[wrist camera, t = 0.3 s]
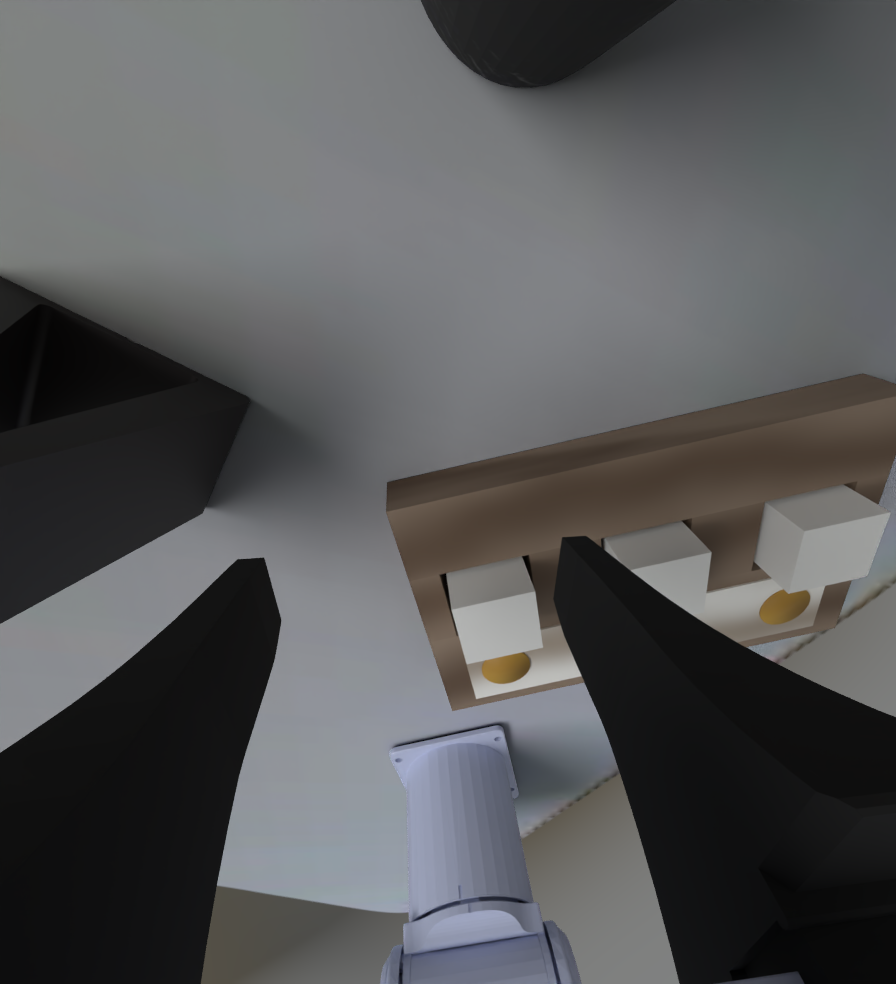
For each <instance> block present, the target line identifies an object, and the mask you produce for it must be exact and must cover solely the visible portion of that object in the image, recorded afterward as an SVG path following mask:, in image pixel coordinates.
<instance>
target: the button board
mask: <svg viewBox="0 0 896 984" xmlns="http://www.w3.org/2000/svg"><path fill="white" fill-rule="evenodd" d="M895 455H896V384H894V383H891V382H888V381H885V380H882V379H878V378H875V377H872V376H869V375H866V374H859V375H855V376H851V377H846V378H842V379H838V380H833V381H829V382H824V383H820V384H816V385H811V386H807V387H803V388H798V389H794V390H789V391H785V392H781V393H776V394H772V395H768V396H763V397H759V398H754V399H750V400H746V401H741V402H737V403H733V404H728V405H724V406H720V407H715V408H711V409H706V410H702V411H698V412H693V413H689V414H685V415H680V416H676V417H671V418H667V419H663V420H658V421H654V422H650V423H645V424H641V425H636V426H632V427H628V428H623V429H619V430H615V431H610V432H606V433H601V434H597V435H593V436H588V437H584V438H580V439H575V440H571V441H566V442H562V443H558V444H553V445H549V446H545V447H540V448H536V449H531V450H527V451H523V452H518V453H514V454H510V455H505V456H501V457H496V458H492V459H488V460H483V461H479V462H475V463H470V464H466V465H461V466H457V467H453V468H448V469H444V470H440V471H435V472H431V473H426V474H422V475H418V476H413V477H409V478H405V479H400V480H396V481H391V482H387V502H386V513H387V516H388V519H389V522H390V525H391V528H392V531H393V534H394V537H395V540H396V543H397V546H398V549H399V552H400V555H401V558H402V561H403V564H404V567H405V570H406V573H407V576H408V579H409V582H410V585H411V588H412V591H413V594H414V597H415V600H416V603H417V606H418V609H419V612H420V615H421V618H422V621H423V624H424V627H425V630H426V633H427V636H428V639H429V642H430V645H431V648H432V651H433V654H434V657H435V660H436V663H437V666H438V669H439V672H440V675H441V678H442V681H443V684H444V687H445V690H446V693H447V696H448V699H449V702H450V705H451V708H452V711H455V710H459V709H464V708H468V707H473V706H478V705H482V704H487V703H491V702H496V701H501V700H505V699H510V698H514V697H519V696H524V695H528V694H533V693H537V692H542V691H547V690H551V689H556V688H560V687H565V686H570V685H574V684H579V683H583V682H584V680H583V678H582V676H581V674H580V671H579V669H578V667H577V665H576V662H575V660H574V658H573V655H572V653H571V651H570V648H569V646H568V644H567V641H566V639H565V637H564V634H563V631H562V628H561V624H560V621H559V618H558V614H557V611H556V607H555V604H554V600H553V597H554V590H555V583H556V576H557V569H558V562H559V555H560V548H561V541H562V537H574V536H587V537H588V538H590V539H591V540H592V541H594V542H595V543H596V544H598V545H599V546H600V547H601V538H605V537H610V536H614V535H619V534H623V533H628V532H632V531H637V530H641V529H646V528H650V527H654V526H659V525H663V524H668V523H672V522H677V521H682V522H683V523H684V524H685V525H686V526H687V527H688V528H689V529H690V530H691V531H692V532H693V533H694V534H695V535H696V536H697V537H698V538H699V540H700V541H701V542H702V543H703V544H704V545H705V546H706V547H707V548H708V549H709V550H710V551H711V552H712V553H711V561H710V568H709V576H708V584H707V592H706V599H705V607H704V612H703V613H699V614H694V615H693V616H695V617H696V618H698V619H699V620H701V621H702V622H704V623H706V624H707V625H709V626H710V627H712V628H714V629H715V630H717V631H719V632H720V633H722V634H724V635H726V636H727V637H729V638H731V639H732V640H734V641H736V642H737V643H739V644H741V645H743V646H744V647H749V646H754V645H758V644H763V643H768V642H772V641H777V640H781V639H786V638H791V637H795V636H800V635H804V634H809V633H814V632H818V631H823V630H827V629H832V628H835V626H836V623H837V621H838V618H839V615H840V612H841V609H842V606H843V603H844V601H845V598H846V595H847V592H848V589H849V586H850V584H851V581H852V580H849V581H845V582H840V583H836V584H831V585H827V586H822V587H817V588H813V589H808V590H804V591H799V592H795V593H790V594H788V593H787V592H786V591H785V590H784V589H783V588H782V587H781V586H779V585H778V584H777V583H776V582H775V581H774V580H773V579H772V578H771V577H770V576H769V575H768V574H767V573H766V572H765V571H764V570H762V569H761V568H760V567H759V566H758V565H757V564H756V563H755V562H754V561H753V560H754V555H755V550H756V545H757V540H758V535H759V529H760V524H761V519H762V514H763V509H764V504H765V502H766V501H771V500H775V499H780V498H784V497H789V496H793V495H797V494H802V493H806V492H811V491H815V490H820V489H824V488H829V487H833V486H838V485H842V484H843V485H845V486H847V487H848V488H850V489H852V490H854V491H855V492H857V493H859V494H860V495H862V496H864V497H866V498H867V499H869V500H871V501H872V502H874V503H876V504H879V501H880V498H881V495H882V492H883V490H884V487H885V484H886V481H887V478H888V475H889V473H890V470H891V467H892V464H893V461H894V458H895ZM520 556H522V558H523V560H524V563H525V566H526V568H527V571H528V574H529V576H530V579H531V582H532V584H533V587H534V590H535V594H536V601H537V608H538V615H539V622H540V629H541V636H542V644H543V648H539V649H535V650H530V651H526V652H521V653H517V654H512V655H507V656H503V657H498V658H494V659H489V660H485V661H480V662H476V663H471V664H467V663H466V660H465V656H464V653H463V649H462V646H461V642H460V639H459V635H458V631H457V628H456V624H455V621H454V617H453V614H452V610H451V603H450V596H449V590H448V586H447V583H446V579H445V575H444V573H449V572H453V571H458V570H462V569H467V568H471V567H476V566H480V565H485V564H489V563H494V562H498V561H503V560H507V559H512V558H516V557H520Z"/></svg>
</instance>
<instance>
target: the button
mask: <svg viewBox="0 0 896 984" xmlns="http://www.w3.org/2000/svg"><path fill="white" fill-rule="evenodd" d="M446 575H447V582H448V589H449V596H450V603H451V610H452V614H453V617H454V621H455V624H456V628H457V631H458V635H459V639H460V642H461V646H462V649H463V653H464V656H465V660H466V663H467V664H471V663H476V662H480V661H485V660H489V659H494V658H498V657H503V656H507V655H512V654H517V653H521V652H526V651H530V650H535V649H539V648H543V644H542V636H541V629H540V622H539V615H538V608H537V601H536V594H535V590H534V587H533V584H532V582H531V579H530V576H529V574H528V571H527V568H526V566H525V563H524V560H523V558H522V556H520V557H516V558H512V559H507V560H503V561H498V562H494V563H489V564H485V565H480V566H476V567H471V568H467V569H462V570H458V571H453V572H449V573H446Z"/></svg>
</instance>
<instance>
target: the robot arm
mask: <svg viewBox="0 0 896 984" xmlns="http://www.w3.org/2000/svg"><path fill="white" fill-rule="evenodd" d="M553 600H554V604H555V607H556V611H557V614H558V618H559V621H560V624H561V628H562V631H563V634H564V637H565V639H566V641H567V644H568V646H569V648H570V651H571V653H572V655H573V658H574V660H575V662H576V665H577V667H578V669H579V671H580V674H581V676H582V678H583V680H584V683H585V685H586V687H587V689H588V692H589V694H590V696H591V698H592V701H593V703H594V705H595V707H596V710H597V712H598V714H599V716H600V719H601V721H602V724H603V726H604V729H605V731H606V734H607V736H608V739H609V742H610V745H611V748H612V751H613V754H614V757H615V760H616V763H617V766H618V769H619V772H620V775H621V777H622V781H623V784H624V787H625V790H626V793H627V796H628V800H629V803H630V806H631V809H632V812H633V816H634V819H635V822H636V825H637V828H638V832H639V835H640V839H641V842H642V845H643V849H644V853H645V856H646V859H647V863H648V866H649V870H650V873H651V877H652V880H653V884H654V887H655V891H656V895H657V898H658V902H659V906H660V910H661V913H662V917H663V921H664V924H665V928H666V932H667V936H668V940H669V943H670V947H671V951H672V955H673V959H674V963H675V967H676V971H677V975H678V979H679V983H680V984H896V717H894V716H891V715H888V714H886V713H883V712H881V711H878V710H876V709H874V708H871V707H869V706H866V705H864V704H862V703H859V702H857V701H855V700H853V699H850V698H848V697H846V696H844V695H841V694H839V693H837V692H835V691H832V690H830V689H828V688H826V687H823V686H821V685H819V684H817V683H815V682H813V681H811V680H809V679H806V678H804V677H802V676H800V675H798V674H796V673H794V672H792V671H790V670H788V669H786V668H784V667H782V666H780V665H778V664H776V663H774V662H773V661H771V660H769V659H767V658H765V657H763V656H761V655H759V654H757V653H755V652H753V651H752V650H750V649H748V648H746V647H744V646H743V645H741V644H739V643H737V642H736V641H734V640H732V639H731V638H729V637H727V636H726V635H724V634H722V633H720V632H719V631H717V630H715V629H714V628H712V627H710V626H709V625H707V624H706V623H704V622H702V621H701V620H699V619H698V618H696V617H695V616H693V615H692V614H690V613H689V612H687V611H686V610H684V609H683V608H681V607H680V606H678V605H677V604H675V603H674V602H672V601H671V600H670V599H668V598H667V597H665V596H664V595H663V594H661V593H660V592H658V591H657V590H656V589H654V588H653V587H652V586H650V585H649V584H648V583H646V582H645V581H644V580H642V579H641V578H640V577H638V576H637V575H636V574H634V573H633V572H632V571H631V570H629V569H628V568H627V567H625V566H624V565H623V564H622V563H620V562H619V561H618V560H617V559H615V558H614V557H613V556H612V555H610V554H609V553H608V552H607V551H605V550H604V549H603V548H601V547H600V546H599V545H598V544H596V543H595V542H594V541H592V540H591V539H590V538H588V537H587V536H574V537H562V541H561V548H560V555H559V562H558V569H557V576H556V583H555V590H554V597H553ZM280 626H281V617H280V614H279V610H278V606H277V603H276V599H275V595H274V592H273V588H272V585H271V581H270V577H269V574H268V570H267V566H266V563H265V559H264V558H252V559H238V560H236V561H235V562H234V563H233V564H232V565H231V566H230V567H229V568H228V569H227V570H226V571H225V572H224V573H223V574H222V575H221V576H220V577H219V578H218V579H216V580H215V581H214V582H213V583H212V584H211V585H210V586H209V587H208V588H207V589H206V590H205V591H204V592H203V593H202V594H201V595H200V596H199V597H198V598H197V599H196V600H195V601H194V602H193V603H192V604H191V605H190V606H189V607H187V608H186V609H185V610H184V611H183V612H182V613H181V614H180V615H179V616H178V617H177V618H176V619H175V620H174V621H173V622H172V623H171V624H169V625H168V626H167V627H166V628H165V629H164V630H163V631H161V632H160V633H159V634H158V635H157V636H156V637H155V638H153V639H152V640H151V641H150V642H149V643H148V644H147V645H145V646H144V647H143V648H142V649H141V650H140V651H139V652H137V653H136V654H135V655H134V656H133V657H132V658H131V659H129V660H128V661H127V662H126V663H124V664H123V665H122V666H121V667H120V668H118V669H117V670H116V671H115V672H113V673H112V674H111V675H110V676H108V677H107V678H106V679H105V680H103V681H102V682H101V683H99V684H98V685H97V686H95V687H94V688H93V689H91V690H90V691H89V692H87V693H86V694H85V695H83V696H82V697H81V698H79V699H78V700H77V701H75V702H74V703H73V704H71V705H70V706H68V707H67V708H66V709H64V710H63V711H61V712H60V713H58V714H57V715H55V716H54V717H52V718H51V719H50V720H48V721H47V722H45V723H44V724H42V725H41V726H39V727H38V728H36V729H35V730H33V731H32V732H30V733H29V734H28V735H26V736H25V737H23V738H22V739H20V740H19V741H17V742H16V743H14V744H13V745H11V746H10V747H8V748H7V749H5V750H4V751H2V752H1V753H0V984H201V978H202V971H203V964H204V958H205V951H206V945H207V939H208V933H209V927H210V921H211V916H212V909H213V904H214V898H215V892H216V887H217V881H218V876H219V871H220V865H221V860H222V855H223V850H224V845H225V840H226V835H227V829H228V824H229V820H230V815H231V810H232V806H233V801H234V796H235V792H236V787H237V782H238V778H239V774H240V770H241V767H242V763H243V759H244V756H245V753H246V749H247V746H248V743H249V740H250V737H251V734H252V730H253V727H254V724H255V721H256V718H257V715H258V712H259V708H260V705H261V702H262V699H263V696H264V693H265V689H266V686H267V683H268V680H269V676H270V673H271V670H272V667H273V663H274V659H275V654H276V649H277V644H278V638H279V632H280ZM390 759H391V761H392V763H393V765H394V767H395V769H396V771H397V773H398V775H399V777H400V779H401V781H402V783H403V785H404V787H405V789H406V791H407V835H408V892H409V923H405V924H404V925H403V929H404V930H403V932H404V944H402V945H396V946H394V947H393V948H392V950H391V953H390V956H389V957H388V959H387V960H386V962H385V964H384V966H383V969H382V974H381V982H380V984H581V980H580V976H579V972H578V969H577V965H576V961H575V958H574V955H573V952H572V949H571V946H570V943H569V940H568V938H567V936H566V935H565V933H564V932H562V931H561V930H560V929H559V928H558V927H557V925H556V923H555V922H554V921H551V920H550V921H544V922H542V917H541V912H540V907H539V903H538V902H533V897H532V891H531V886H530V881H529V876H528V872H527V867H526V862H525V858H524V852H523V847H522V842H521V837H520V832H519V827H518V822H517V817H516V812H515V807H514V802H513V799H515V798H517V797H518V796H519V792H518V787H517V783H516V779H515V775H514V771H513V767H512V763H511V759H510V755H509V751H508V746H507V742H506V738H505V734H504V730H503V728H502V727H501V726H498V725H496V726H491V727H486V728H482V729H477V730H472V731H468V732H463V733H459V734H454V735H449V736H445V737H440V738H435V739H431V740H426V741H422V742H417V743H412V744H408V745H403V746H398V747H394V748H392V749H391V750H390Z"/></svg>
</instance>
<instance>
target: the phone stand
mask: <svg viewBox="0 0 896 984" xmlns="http://www.w3.org/2000/svg"><path fill="white" fill-rule="evenodd" d="M249 403H250V399H249V398H248V397H247V396H245V395H243V394H241V393H239V392H237V391H235V390H233V389H231V388H229V387H227V386H224V385H222V384H220V383H218V382H216V381H214V380H212V379H210V378H208V377H206V376H204V375H202V374H200V373H198V372H196V371H194V370H192V369H190V368H187V367H185V366H183V365H181V364H179V363H177V362H175V361H173V360H171V359H169V358H167V357H165V356H163V355H161V354H159V353H157V352H155V351H153V350H150V349H148V348H146V347H144V346H142V345H140V344H135V343H131V342H129V341H128V340H127V338H126V337H124V336H122V335H120V334H118V333H115V332H113V331H111V330H109V329H107V328H105V327H103V326H101V325H99V324H97V323H95V322H93V321H91V320H89V319H87V318H85V317H83V316H81V315H78V314H76V313H74V312H72V311H70V310H68V309H66V308H64V307H62V306H60V305H58V304H56V303H54V302H52V301H50V300H48V299H46V298H44V297H41V296H39V295H37V294H35V293H33V292H31V291H29V290H27V289H25V288H23V287H21V286H19V285H17V284H15V283H13V282H11V281H9V280H6V279H4V278H2V277H0V624H1V623H3V622H4V621H6V620H8V619H10V618H12V617H14V616H15V615H17V614H19V613H21V612H23V611H25V610H26V609H28V608H30V607H32V606H34V605H36V604H37V603H39V602H41V601H43V600H45V599H47V598H48V597H50V596H52V595H54V594H56V593H58V592H59V591H61V590H63V589H65V588H67V587H69V586H70V585H72V584H74V583H76V582H78V581H79V580H81V579H83V578H85V577H87V576H89V575H90V574H92V573H94V572H96V571H98V570H100V569H101V568H103V567H105V566H107V565H109V564H111V563H112V562H114V561H116V560H118V559H120V558H122V557H123V556H125V555H127V554H129V553H131V552H133V551H134V550H136V549H138V548H140V547H142V546H144V545H145V544H147V543H149V542H151V541H153V540H155V539H156V538H158V537H160V536H162V535H164V534H166V533H167V532H169V531H171V530H173V529H175V528H177V527H178V526H180V525H182V524H184V523H186V522H188V521H189V520H191V519H193V518H195V517H197V516H199V515H200V514H202V513H203V511H204V509H205V506H206V504H207V502H208V499H209V497H210V495H211V492H212V490H213V488H214V485H215V483H216V480H217V478H218V476H219V473H220V471H221V469H222V466H223V464H224V462H225V459H226V457H227V455H228V452H229V450H230V448H231V445H232V443H233V441H234V438H235V436H236V434H237V431H238V429H239V426H240V424H241V422H242V419H243V417H244V415H245V412H246V410H247V408H248V405H249Z"/></svg>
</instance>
